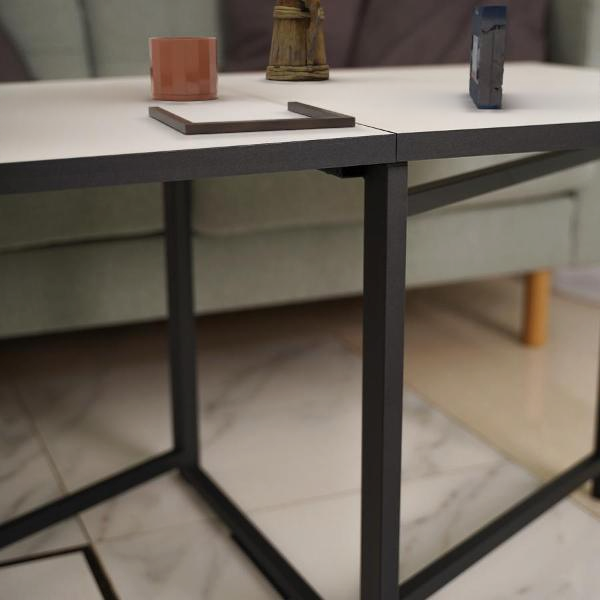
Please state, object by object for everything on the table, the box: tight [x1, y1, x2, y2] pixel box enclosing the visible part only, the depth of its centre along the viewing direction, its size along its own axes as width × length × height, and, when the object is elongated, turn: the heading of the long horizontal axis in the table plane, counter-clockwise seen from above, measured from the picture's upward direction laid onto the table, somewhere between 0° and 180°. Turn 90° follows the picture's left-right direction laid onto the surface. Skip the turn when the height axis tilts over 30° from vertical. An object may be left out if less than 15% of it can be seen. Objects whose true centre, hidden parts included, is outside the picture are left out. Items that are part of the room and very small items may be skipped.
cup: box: [148, 36, 219, 102], centre depth 102 cm, size 7×7×6 cm
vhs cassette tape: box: [468, 5, 508, 110], centre depth 99 cm, size 18×3×10 cm, turn 171°
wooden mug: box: [264, 0, 330, 82], centre depth 125 cm, size 9×14×18 cm, turn 22°
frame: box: [147, 101, 356, 135], centre depth 82 cm, size 15×14×1 cm
